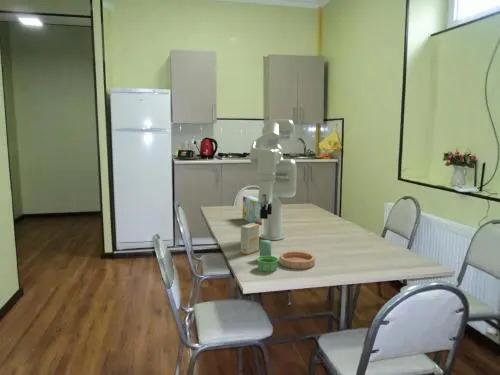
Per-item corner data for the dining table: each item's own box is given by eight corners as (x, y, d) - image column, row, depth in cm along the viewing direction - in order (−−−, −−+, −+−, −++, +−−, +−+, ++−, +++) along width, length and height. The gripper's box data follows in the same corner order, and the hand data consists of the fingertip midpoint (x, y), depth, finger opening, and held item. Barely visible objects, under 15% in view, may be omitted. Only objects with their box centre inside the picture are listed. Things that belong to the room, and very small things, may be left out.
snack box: (262, 224, 247) (263, 200, 245) (254, 225, 245) (254, 200, 243) (249, 217, 266) (250, 195, 264) (241, 218, 264) (242, 195, 262)
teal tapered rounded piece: (260, 256, 184) (261, 239, 183) (271, 257, 183) (272, 240, 182) (258, 260, 179) (258, 242, 178) (269, 260, 178) (270, 243, 177)
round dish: (282, 256, 185) (282, 250, 184) (315, 259, 181) (316, 252, 181) (277, 267, 170) (277, 260, 170) (313, 270, 167) (313, 263, 166)
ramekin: (265, 274, 162) (265, 263, 161) (252, 268, 169) (252, 257, 168) (282, 270, 167) (283, 259, 166) (269, 264, 174) (269, 254, 174)
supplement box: (251, 249, 196) (251, 222, 194) (259, 251, 193) (259, 224, 191) (240, 253, 189) (240, 225, 187) (247, 255, 186) (248, 227, 184)
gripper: (261, 175, 185) (261, 212, 188) (254, 179, 169) (253, 219, 171) (278, 176, 184) (277, 213, 186) (271, 180, 167) (271, 220, 169)
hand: (265, 216), depth 178 cm, fingers open, 9 cm apart
